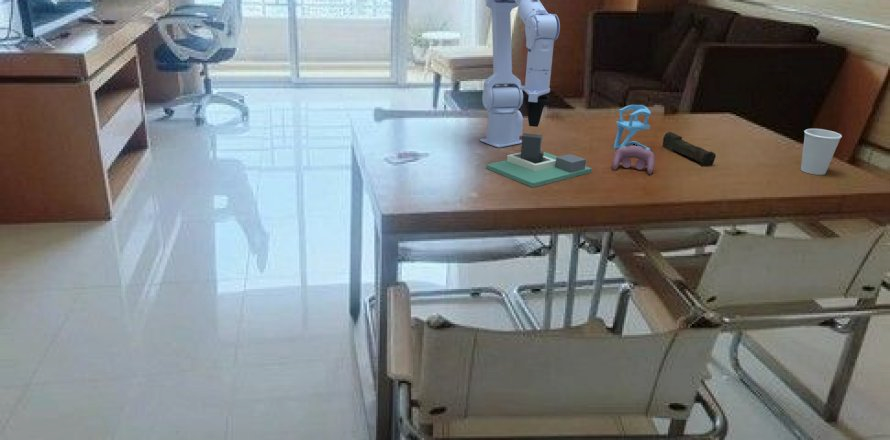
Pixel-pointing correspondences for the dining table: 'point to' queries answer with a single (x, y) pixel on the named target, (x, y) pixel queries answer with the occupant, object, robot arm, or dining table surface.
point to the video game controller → (634, 152)
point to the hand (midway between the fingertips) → (533, 125)
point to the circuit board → (540, 168)
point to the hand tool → (688, 149)
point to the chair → (631, 125)
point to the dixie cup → (818, 150)
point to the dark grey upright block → (531, 148)
